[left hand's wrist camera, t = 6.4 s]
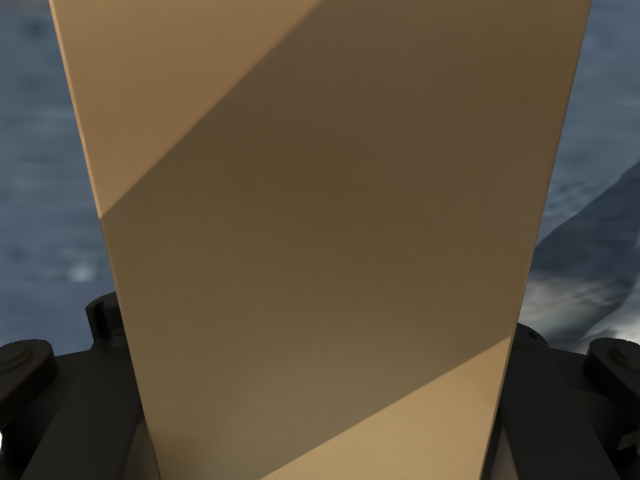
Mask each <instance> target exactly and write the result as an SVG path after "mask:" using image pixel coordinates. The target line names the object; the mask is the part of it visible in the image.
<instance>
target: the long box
mask: <svg viewBox="0 0 640 480" xmlns="http://www.w3.org/2000/svg"><path fill="white" fill-rule="evenodd" d="M591 3H592V0H49V4H50V8H51V12H52V17H53V21H54V25H55V30H56V34H57V38H58V43H59V47H60V51H61V56H62V60H63V64H64V69H65V73H66V77H67V82H68V86H69V90H70V95H71V99H72V103H73V108H74V112H75V116H76V121H77V125H78V129H79V134H80V138H81V142H82V147H83V151H84V155H85V160H86V164H87V168H88V173H89V177H90V181H91V186H92V190H93V194H94V199H95V203H96V207H97V212H98V216H99V220H100V225H101V229H102V233H103V238H104V242H105V246H106V251H107V255H108V259H109V264H110V268H111V272H112V277H113V281H114V285H115V290H116V294H117V298H118V303H119V307H120V311H121V316H122V320H123V324H124V329H125V333H126V337H127V342H128V346H129V350H130V355H131V359H132V363H133V368H134V372H135V376H136V381H137V385H138V389H139V394H140V398H141V402H142V407H143V411H144V415H145V420H146V424H147V428H148V433H149V437H150V441H151V446H152V450H153V454H154V459H155V463H156V467H157V472H158V476H159V480H481V478H482V474H483V470H484V465H485V461H486V457H487V452H488V448H489V444H490V439H491V435H492V431H493V426H494V422H495V418H496V413H497V409H498V405H499V400H500V396H501V392H502V387H503V383H504V379H505V374H506V370H507V366H508V361H509V357H510V353H511V348H512V344H513V340H514V335H515V331H516V327H517V323H518V318H519V314H520V310H521V305H522V301H523V297H524V292H525V288H526V284H527V279H528V275H529V271H530V266H531V262H532V258H533V253H534V249H535V245H536V240H537V236H538V232H539V227H540V223H541V219H542V214H543V210H544V206H545V201H546V197H547V193H548V188H549V184H550V180H551V176H552V171H553V167H554V163H555V158H556V154H557V150H558V145H559V141H560V137H561V132H562V128H563V124H564V119H565V115H566V111H567V106H568V102H569V98H570V93H571V89H572V85H573V80H574V76H575V72H576V67H577V63H578V59H579V54H580V50H581V46H582V41H583V37H584V33H585V28H586V24H587V20H588V16H589V11H590V7H591Z"/></svg>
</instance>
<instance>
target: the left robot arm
mask: <svg viewBox="0 0 640 480" xmlns="http://www.w3.org/2000/svg"><path fill="white" fill-rule="evenodd" d="M85 309H86V313H87V317H88V321H89V324H90V328H91V332H92V335H93V339H94V343H93V345H92V347H91V349H90V350H86V351H81V352H76V353H71V354H66V355H60V356H55V355H54V352H53V349H52V346H51V344H50V343H48V342H47V341H46V340H38V339H32V340H21V341H16V342H14V343H13V342H12V343H9V344H6V345H3V346H2V347H0V480H159V476H158V472H157V467H156V463H155V459H154V454H153V450H152V446H151V441H150V437H149V433H148V428H147V424H146V420H145V415H144V411H143V407H142V402H141V398H140V394H139V389H138V385H137V381H136V376H135V372H134V368H133V363H132V359H131V355H130V350H129V346H128V342H127V337H126V333H125V329H124V324H123V320H122V316H121V311H120V307H119V303H118V298H117V294H116V291H115V292H112V293H109V294H106V295H103V296H101V297H99V298H98V299H96V300H94V301H92V302H91V303H90V304H89V305H88V306H87V307H86V308H85ZM481 480H640V345H639V344H637V343H634V342H631V341H627V340H623V339H615V338H606V337H605V338H598V339H594V340H593V341H592V342H590V344H589V347H588V350H587V353H586V355H583V354H578V353H573V352H568V351H562V350H557V349H553V348H549V346H548V344H547V342H546V341H545V340H544V338H543V337H542V336H541V335H540V334H539V333H537V332H536V331H534V330H533V329H531V328H530V327H527V326H525V325H522V324H520V323H517V327H516V331H515V335H514V340H513V344H512V348H511V353H510V357H509V361H508V366H507V370H506V374H505V379H504V383H503V387H502V392H501V396H500V400H499V405H498V409H497V413H496V418H495V422H494V426H493V431H492V435H491V439H490V444H489V448H488V452H487V457H486V461H485V465H484V470H483V474H482V478H481Z"/></svg>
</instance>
